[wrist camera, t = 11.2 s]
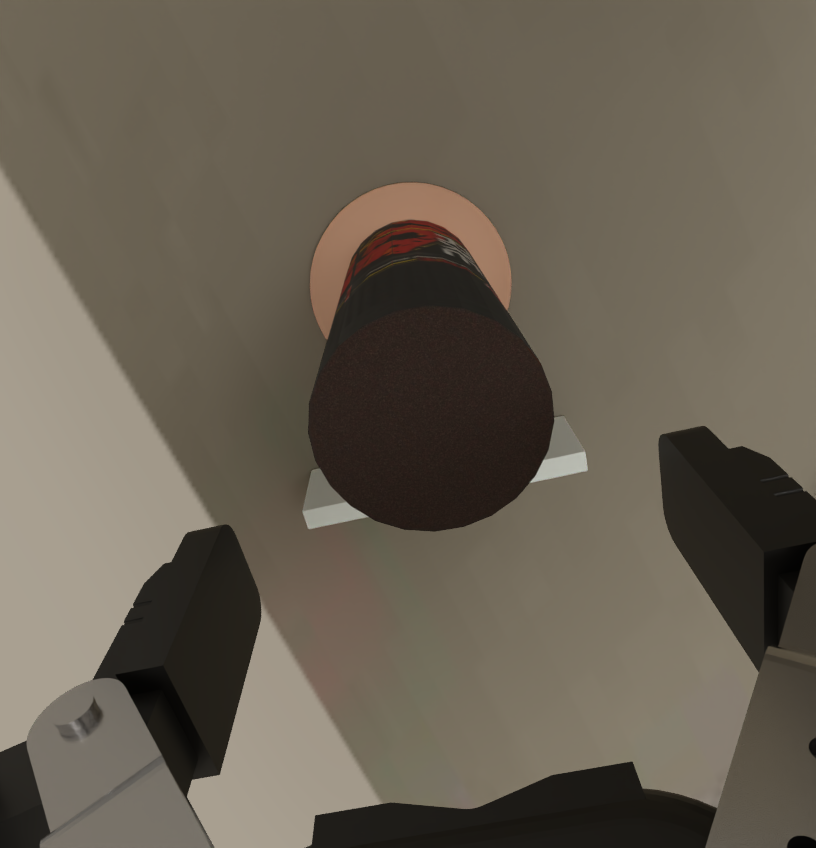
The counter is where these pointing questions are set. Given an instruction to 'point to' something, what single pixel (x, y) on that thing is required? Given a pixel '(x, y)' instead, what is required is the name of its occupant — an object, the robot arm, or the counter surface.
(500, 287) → the coaster
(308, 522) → the acrylic wall
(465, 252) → the deodorant
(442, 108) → the counter surface
